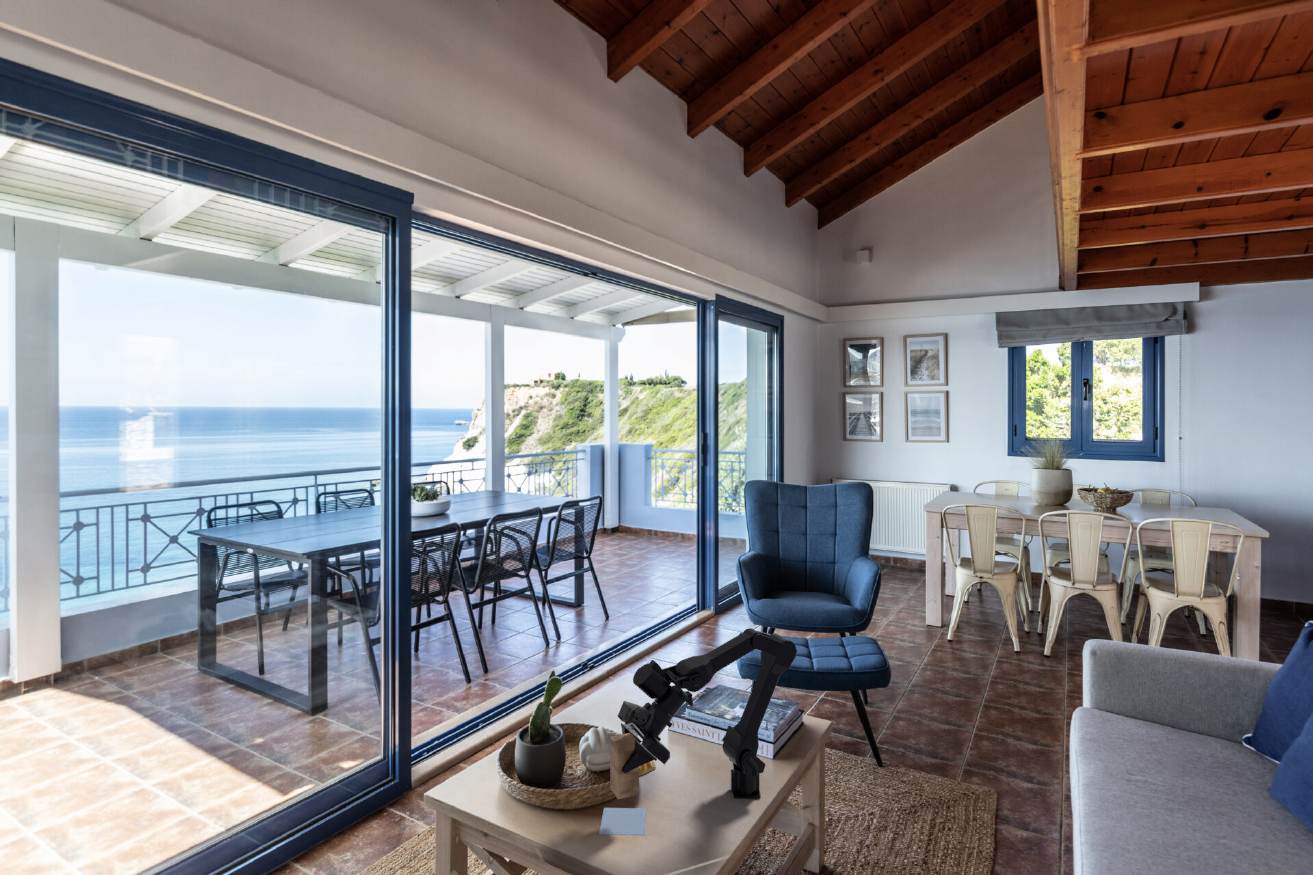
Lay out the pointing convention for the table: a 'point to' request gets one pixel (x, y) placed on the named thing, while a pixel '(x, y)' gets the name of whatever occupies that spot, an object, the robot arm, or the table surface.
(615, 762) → the walnut pillar
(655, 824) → the table surface
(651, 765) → the pastry
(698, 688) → the robot arm
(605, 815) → the light blue square plate
